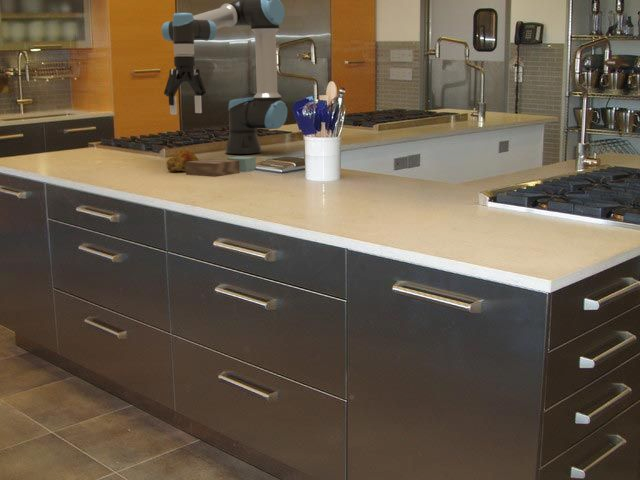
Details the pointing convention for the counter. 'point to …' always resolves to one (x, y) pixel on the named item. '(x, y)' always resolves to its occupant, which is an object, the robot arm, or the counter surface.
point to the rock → (180, 160)
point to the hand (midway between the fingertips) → (186, 113)
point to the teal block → (245, 163)
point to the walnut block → (212, 167)
